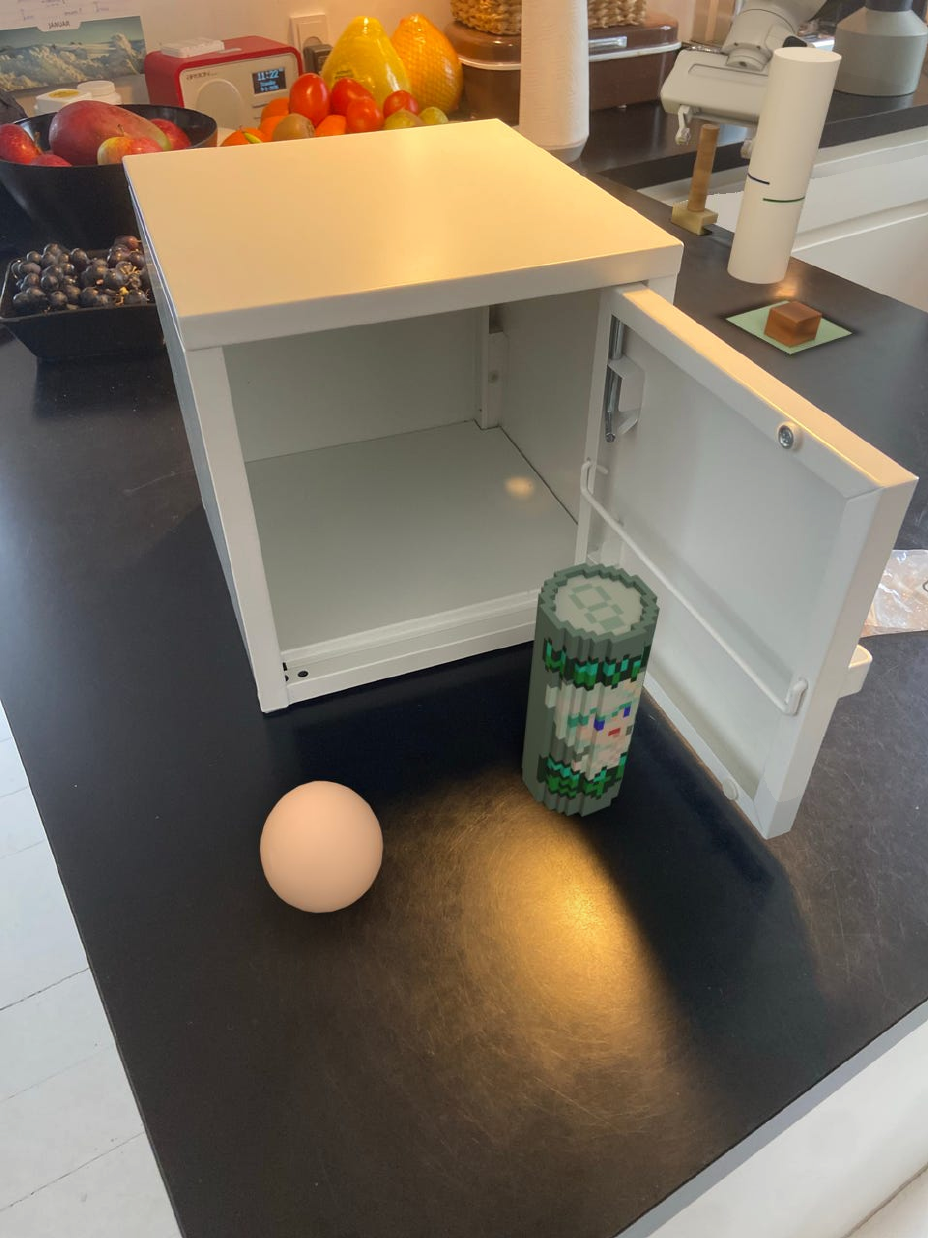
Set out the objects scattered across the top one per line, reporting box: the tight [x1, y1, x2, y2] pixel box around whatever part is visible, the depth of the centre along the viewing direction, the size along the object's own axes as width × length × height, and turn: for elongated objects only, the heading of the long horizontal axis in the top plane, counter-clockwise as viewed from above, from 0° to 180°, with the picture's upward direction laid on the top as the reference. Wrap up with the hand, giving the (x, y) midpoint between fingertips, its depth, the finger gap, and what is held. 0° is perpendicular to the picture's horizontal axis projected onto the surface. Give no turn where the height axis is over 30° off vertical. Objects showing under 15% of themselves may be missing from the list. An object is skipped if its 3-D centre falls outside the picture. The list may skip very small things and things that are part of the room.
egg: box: [259, 780, 384, 914], centre depth 50 cm, size 7×7×8 cm
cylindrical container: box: [726, 47, 842, 285], centre depth 108 cm, size 7×7×25 cm
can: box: [521, 562, 661, 817], centre depth 53 cm, size 6×6×15 cm
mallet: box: [670, 123, 721, 236], centre depth 125 cm, size 6×3×13 cm, turn 32°
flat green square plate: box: [725, 300, 853, 355], centre depth 105 cm, size 10×10×1 cm
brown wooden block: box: [764, 300, 823, 347], centre depth 101 cm, size 4×4×3 cm
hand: (712, 149), depth 125 cm, fingers open, 8 cm apart
